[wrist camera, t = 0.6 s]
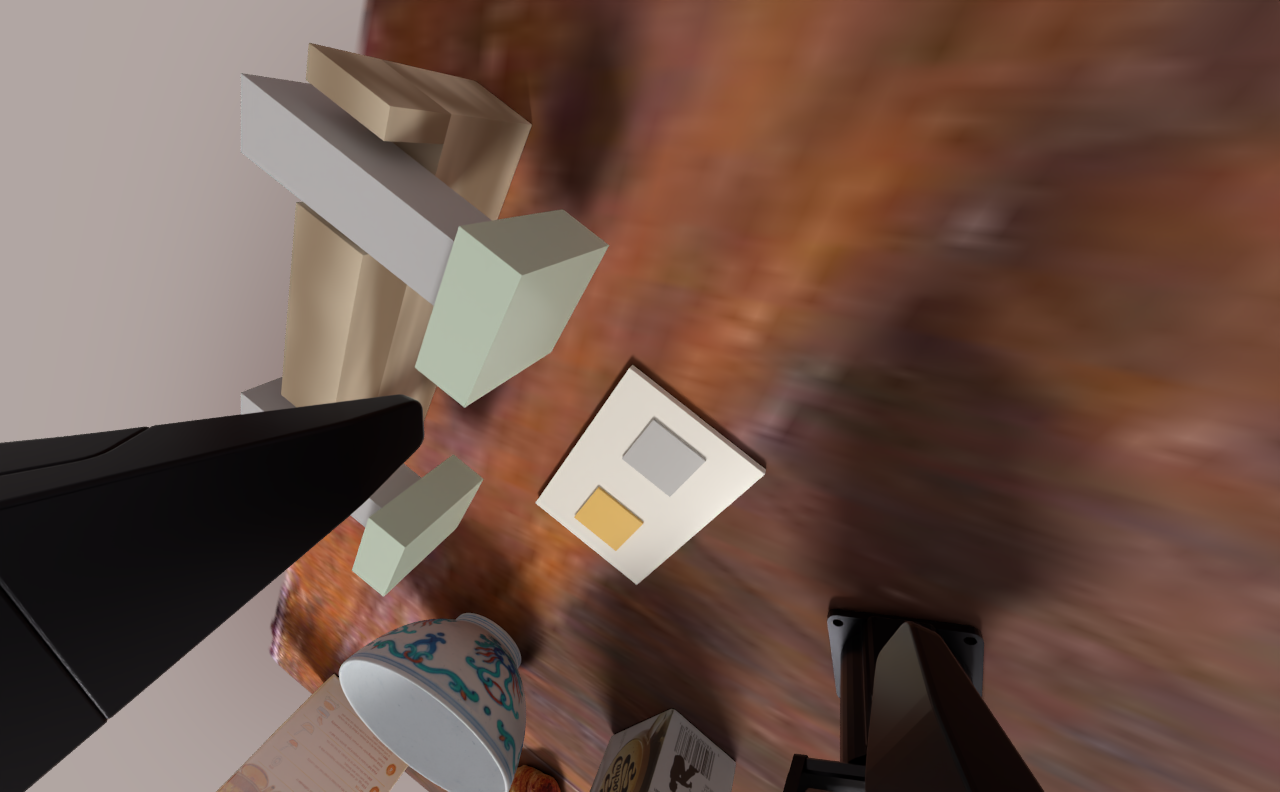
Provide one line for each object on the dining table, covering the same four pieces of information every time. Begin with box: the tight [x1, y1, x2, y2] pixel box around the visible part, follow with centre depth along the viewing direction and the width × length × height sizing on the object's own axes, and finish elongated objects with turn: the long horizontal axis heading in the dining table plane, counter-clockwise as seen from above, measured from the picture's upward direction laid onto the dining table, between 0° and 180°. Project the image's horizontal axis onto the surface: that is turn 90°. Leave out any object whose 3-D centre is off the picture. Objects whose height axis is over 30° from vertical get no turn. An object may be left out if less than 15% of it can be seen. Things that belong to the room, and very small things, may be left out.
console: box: [281, 43, 532, 419], centre depth 21 cm, size 3×20×7 cm, turn 148°
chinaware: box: [339, 613, 526, 792], centre depth 36 cm, size 15×15×8 cm
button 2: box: [241, 377, 483, 597], centre depth 23 cm, size 11×5×5 cm, turn 58°
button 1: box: [241, 73, 609, 408], centre depth 15 cm, size 11×5×5 cm, turn 58°
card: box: [536, 365, 766, 585], centre depth 25 cm, size 8×12×1 cm, turn 148°
